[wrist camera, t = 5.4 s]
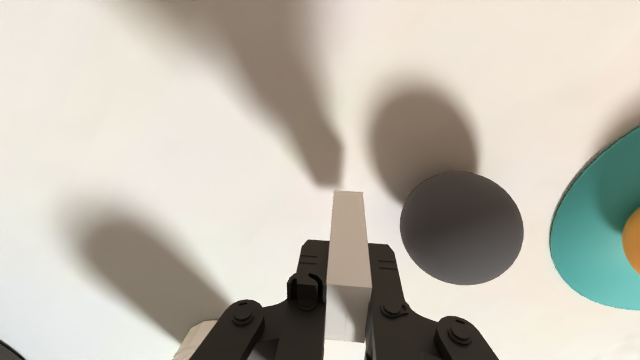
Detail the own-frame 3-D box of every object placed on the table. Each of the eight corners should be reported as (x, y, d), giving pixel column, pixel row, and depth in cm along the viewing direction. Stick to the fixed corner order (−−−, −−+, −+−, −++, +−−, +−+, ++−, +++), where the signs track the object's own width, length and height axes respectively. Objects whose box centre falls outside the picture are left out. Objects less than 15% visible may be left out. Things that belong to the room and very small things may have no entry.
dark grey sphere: (518, 325, 13) (494, 249, 18) (561, 217, 11) (521, 162, 15) (389, 294, 15) (399, 232, 19) (401, 194, 12) (409, 151, 17)
